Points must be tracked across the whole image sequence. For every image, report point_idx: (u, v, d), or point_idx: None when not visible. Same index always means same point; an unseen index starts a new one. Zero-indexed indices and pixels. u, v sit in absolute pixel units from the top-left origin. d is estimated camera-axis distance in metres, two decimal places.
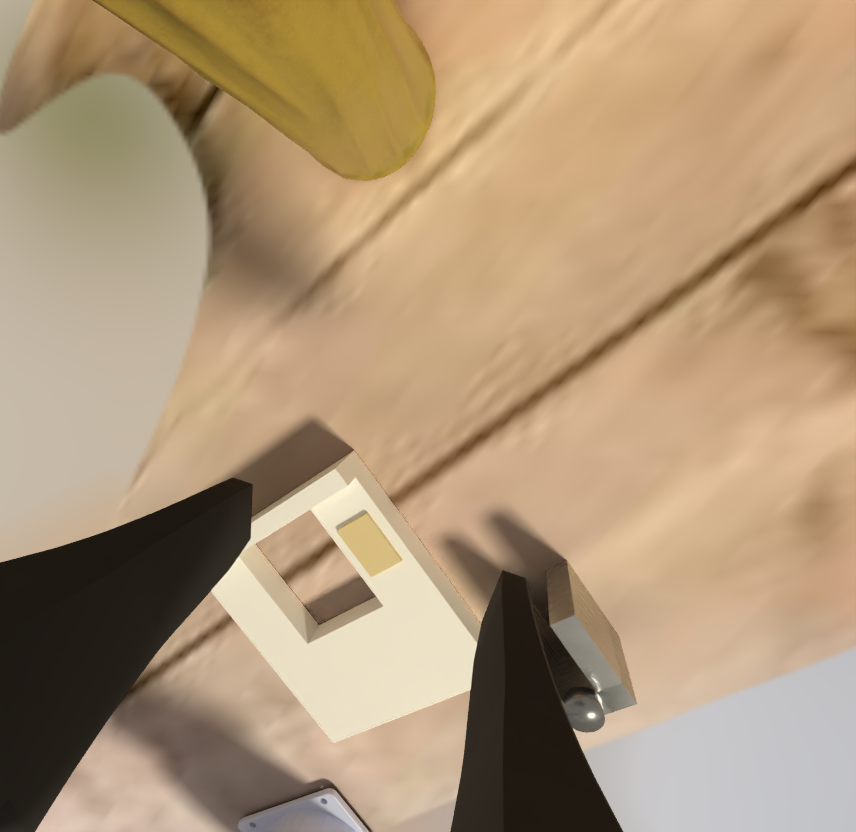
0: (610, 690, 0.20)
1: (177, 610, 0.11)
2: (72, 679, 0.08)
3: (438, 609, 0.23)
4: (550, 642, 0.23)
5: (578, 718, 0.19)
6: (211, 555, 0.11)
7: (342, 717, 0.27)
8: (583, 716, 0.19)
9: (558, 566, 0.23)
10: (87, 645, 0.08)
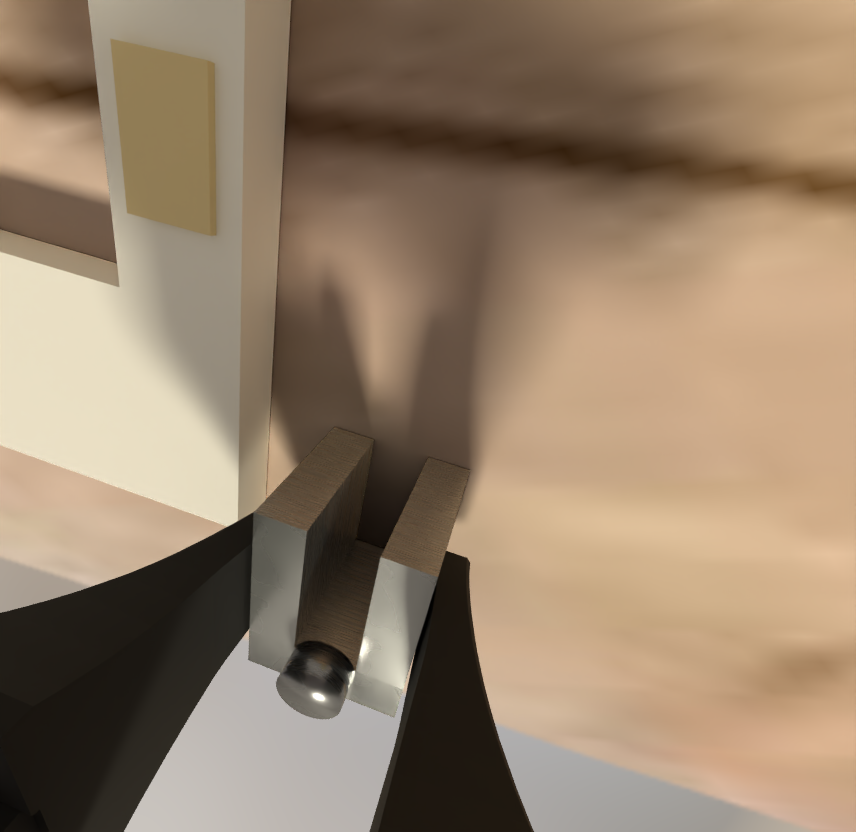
0: (376, 683, 0.11)
1: (234, 632, 0.11)
2: (145, 710, 0.08)
3: (216, 373, 0.11)
4: (344, 544, 0.13)
5: (296, 690, 0.10)
6: None
7: None
8: (307, 693, 0.10)
9: (451, 467, 0.12)
10: (160, 675, 0.08)
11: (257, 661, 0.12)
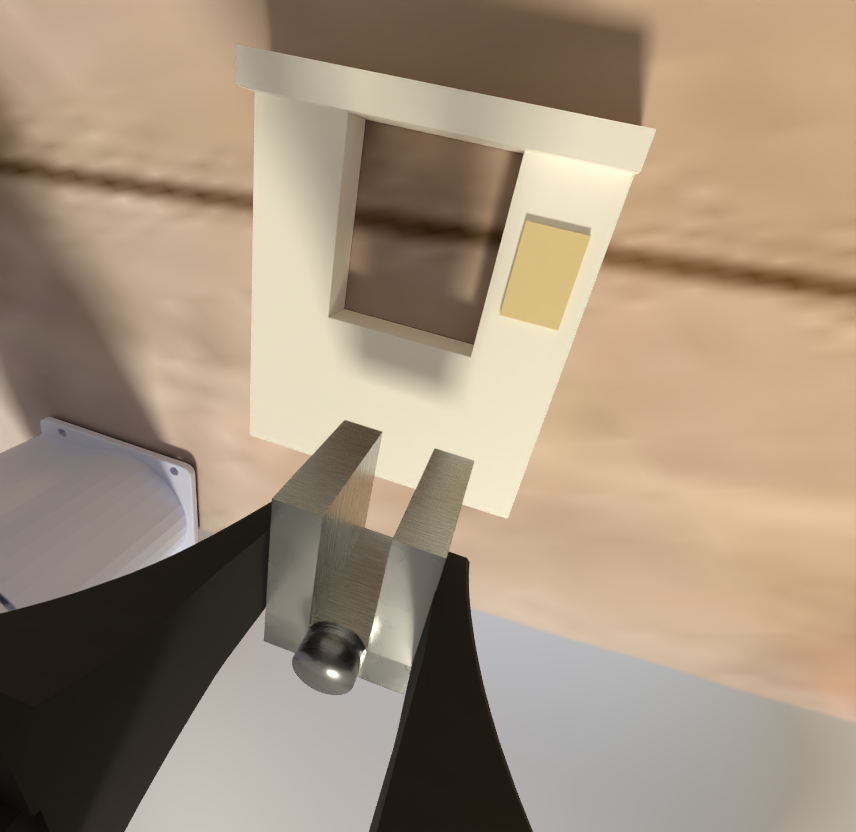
0: (386, 661, 0.11)
1: (234, 632, 0.11)
2: (146, 710, 0.08)
3: (527, 412, 0.17)
4: (354, 532, 0.14)
5: (312, 667, 0.11)
6: (266, 575, 0.11)
7: (287, 421, 0.20)
8: (322, 670, 0.11)
9: (457, 458, 0.13)
10: (160, 675, 0.08)
11: (272, 642, 0.12)
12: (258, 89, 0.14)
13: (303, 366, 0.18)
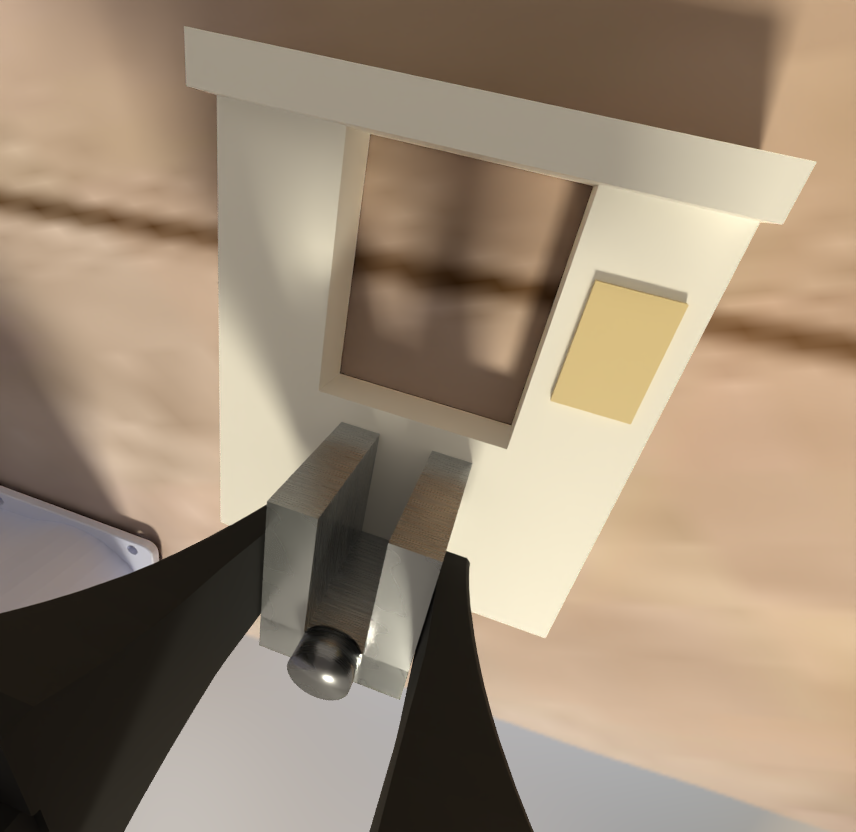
0: (383, 666, 0.11)
1: (234, 632, 0.11)
2: (146, 710, 0.08)
3: (579, 519, 0.13)
4: (351, 535, 0.14)
5: (306, 672, 0.11)
6: None
7: None
8: (317, 675, 0.11)
9: (454, 461, 0.13)
10: (160, 675, 0.08)
11: (268, 646, 0.12)
12: (218, 92, 0.09)
13: (286, 447, 0.14)
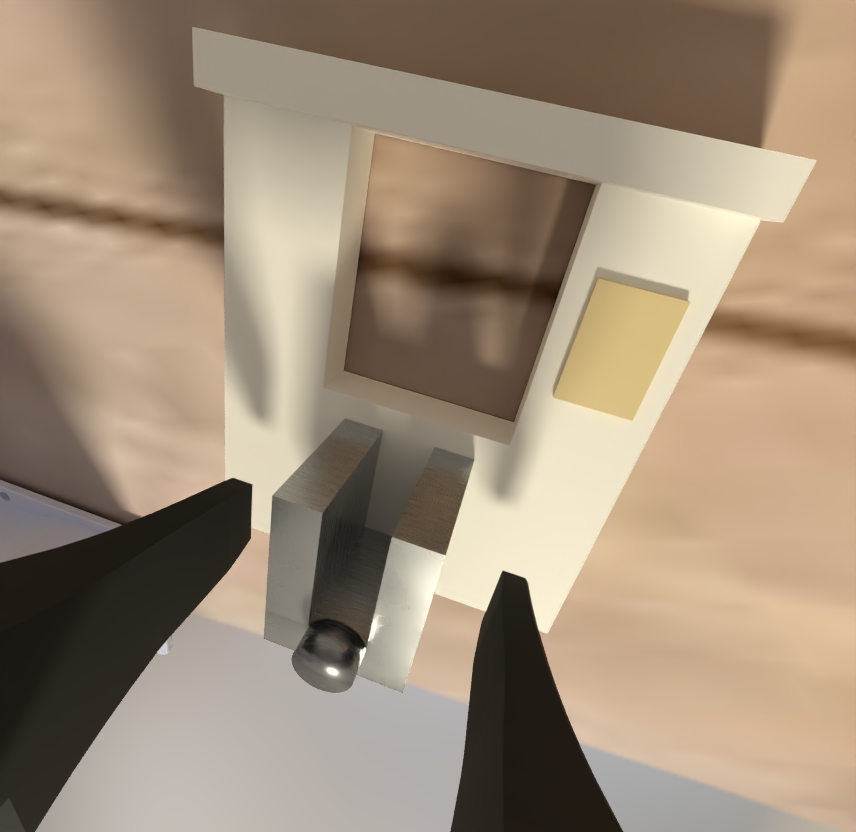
0: (386, 659, 0.11)
1: (177, 610, 0.11)
2: (72, 679, 0.08)
3: (581, 515, 0.13)
4: (354, 530, 0.14)
5: (311, 665, 0.11)
6: (211, 555, 0.11)
7: (271, 505, 0.16)
8: (321, 668, 0.11)
9: (457, 457, 0.13)
10: (87, 645, 0.08)
11: (272, 640, 0.12)
12: (225, 92, 0.10)
13: (291, 444, 0.14)
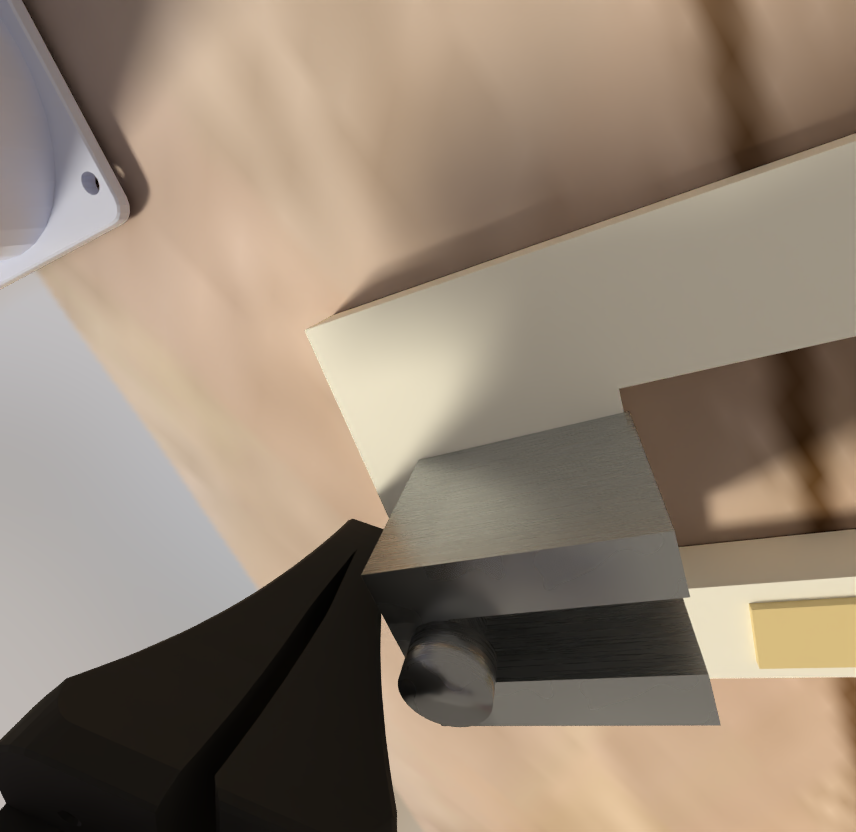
0: None
1: None
2: None
3: None
4: None
5: (439, 683, 0.07)
6: None
7: (381, 385, 0.11)
8: (447, 694, 0.07)
9: None
10: None
11: (370, 585, 0.08)
12: None
13: (501, 378, 0.10)
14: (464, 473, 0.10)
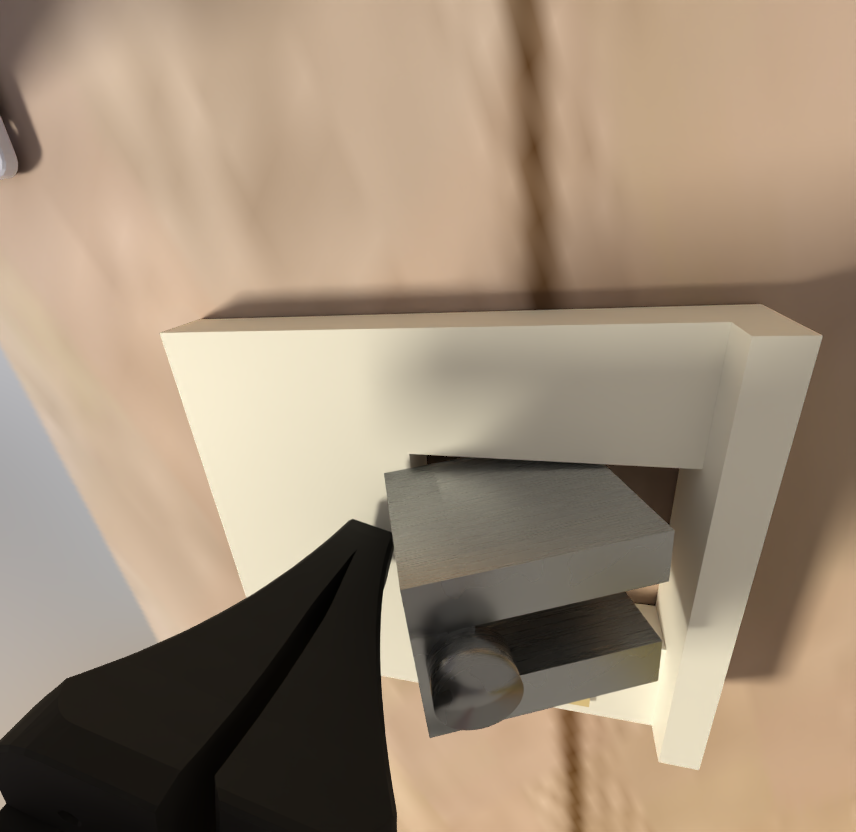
0: None
1: None
2: None
3: (390, 664, 0.15)
4: None
5: (479, 687, 0.08)
6: None
7: (222, 397, 0.12)
8: (482, 697, 0.08)
9: None
10: None
11: (406, 600, 0.08)
12: (744, 379, 0.08)
13: (320, 420, 0.12)
14: (450, 487, 0.10)
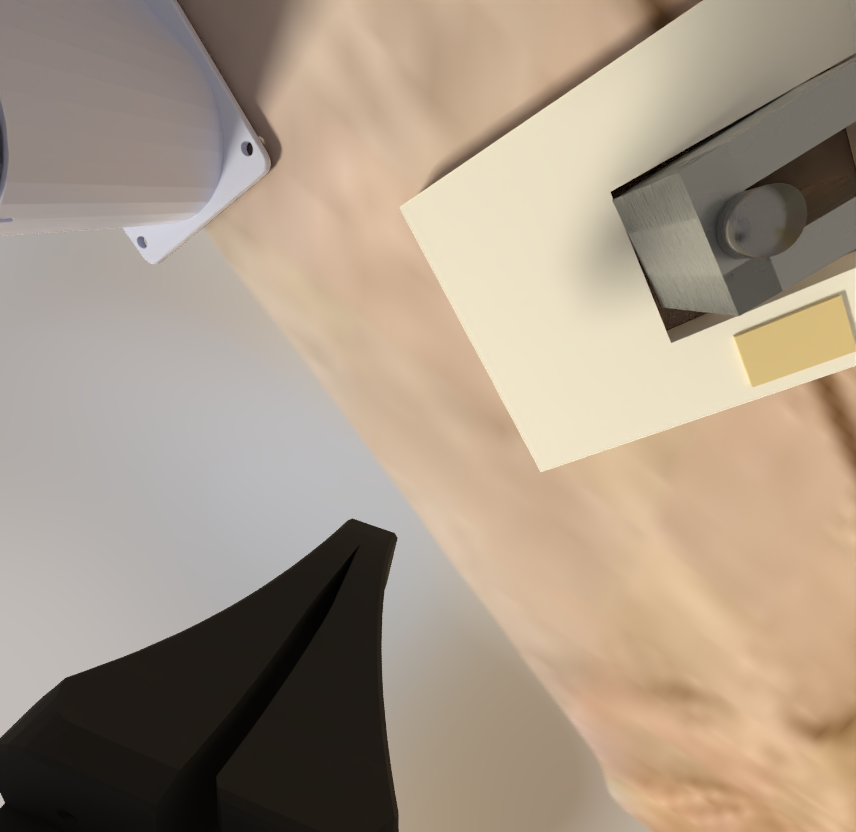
0: (769, 272, 0.12)
1: None
2: None
3: (654, 418, 0.17)
4: None
5: (768, 208, 0.10)
6: None
7: (454, 233, 0.16)
8: (774, 218, 0.11)
9: None
10: (261, 716, 0.08)
11: (685, 180, 0.11)
12: None
13: (533, 206, 0.15)
14: (673, 164, 0.13)
